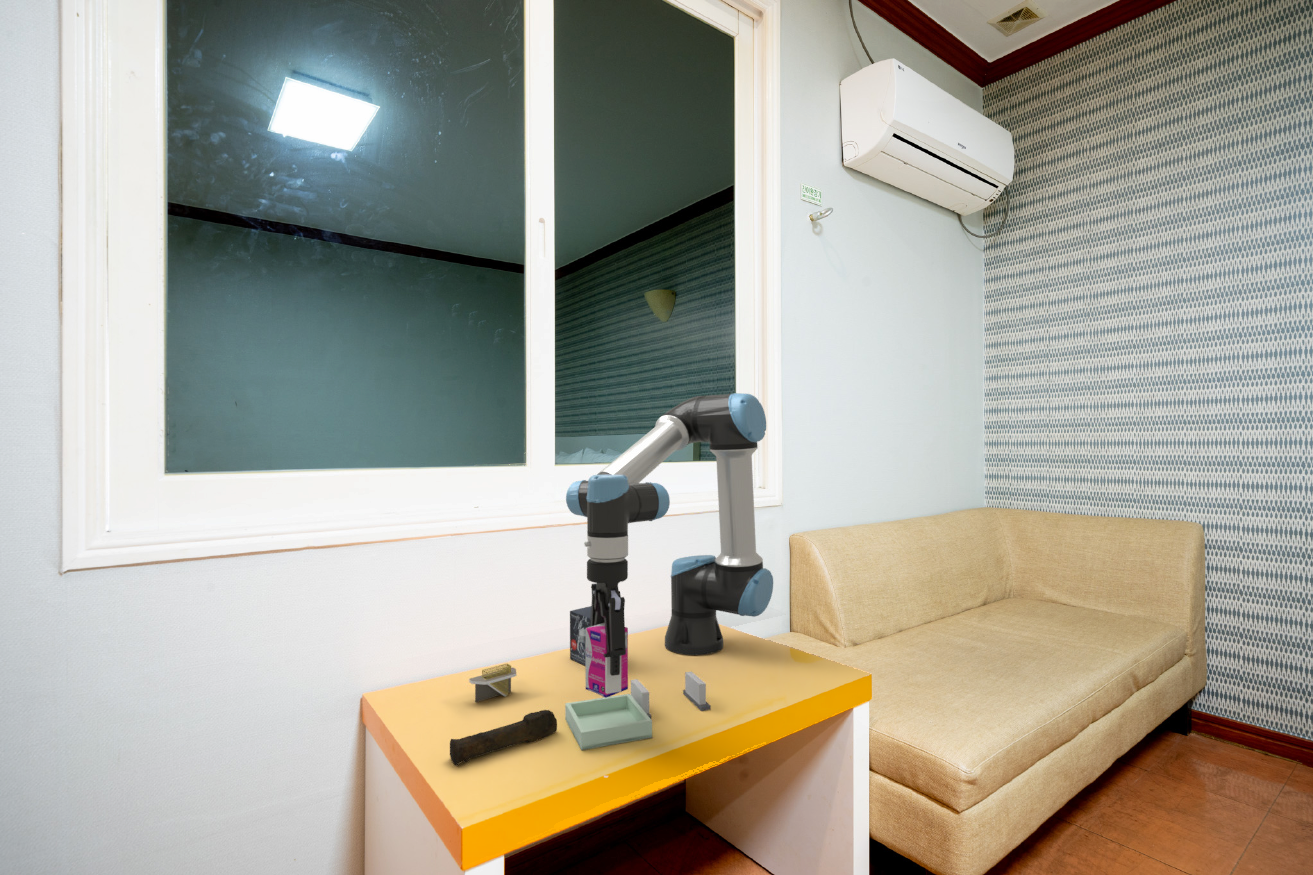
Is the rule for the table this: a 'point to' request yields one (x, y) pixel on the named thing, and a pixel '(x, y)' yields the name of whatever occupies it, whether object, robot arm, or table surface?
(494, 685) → the platform
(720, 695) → the table surface
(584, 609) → the small box
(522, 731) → the hand tool
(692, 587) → the robot arm
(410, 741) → the table surface
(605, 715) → the parts tray
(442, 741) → the table surface
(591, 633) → the supplement box
